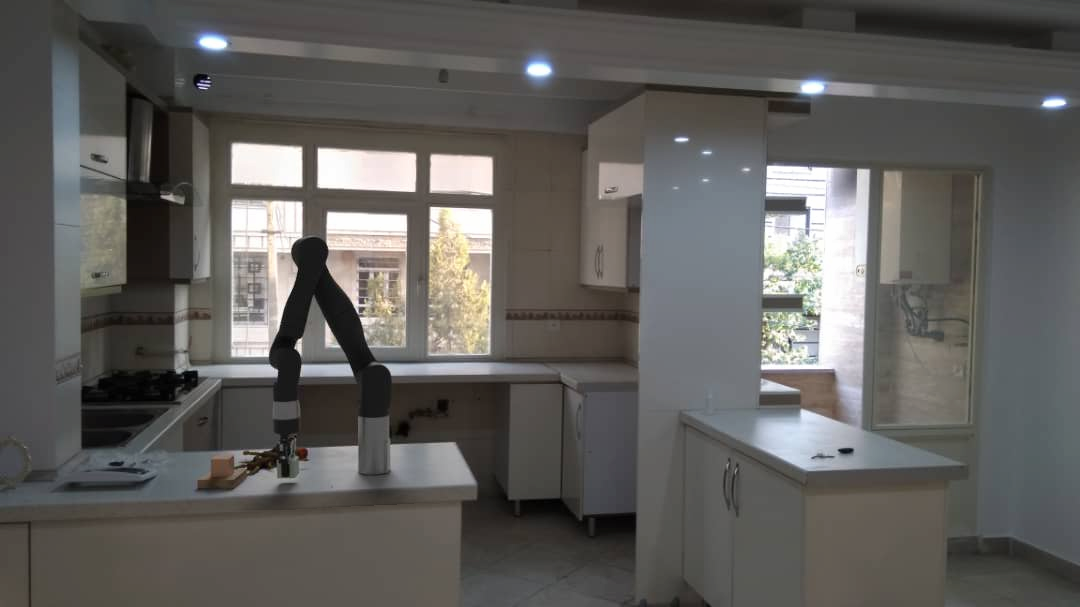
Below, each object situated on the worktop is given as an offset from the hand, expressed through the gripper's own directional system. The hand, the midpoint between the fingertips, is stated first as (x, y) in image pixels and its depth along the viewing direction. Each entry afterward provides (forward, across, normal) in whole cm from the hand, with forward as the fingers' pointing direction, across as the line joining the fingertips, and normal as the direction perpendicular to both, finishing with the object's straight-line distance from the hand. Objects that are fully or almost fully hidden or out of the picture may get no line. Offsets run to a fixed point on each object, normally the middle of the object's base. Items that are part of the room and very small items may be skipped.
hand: (288, 474), depth 242 cm
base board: (+2, 0, +19) cm, 19 cm away
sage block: (+1, 0, 0) cm, 1 cm away
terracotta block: (0, 0, +18) cm, 19 cm away
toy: (+3, +21, +12) cm, 24 cm away
